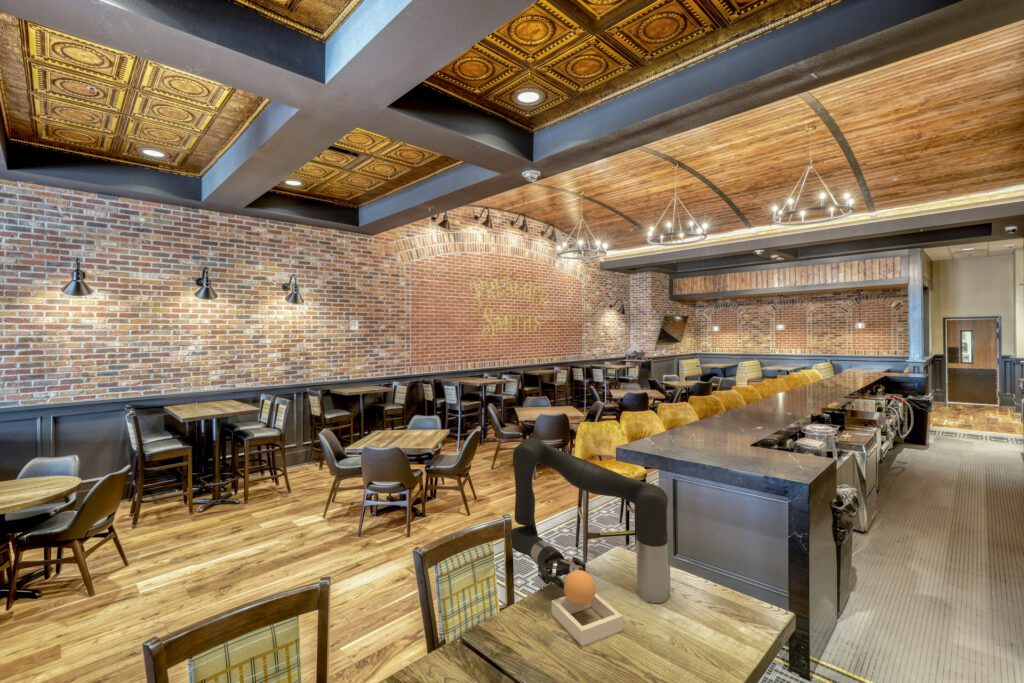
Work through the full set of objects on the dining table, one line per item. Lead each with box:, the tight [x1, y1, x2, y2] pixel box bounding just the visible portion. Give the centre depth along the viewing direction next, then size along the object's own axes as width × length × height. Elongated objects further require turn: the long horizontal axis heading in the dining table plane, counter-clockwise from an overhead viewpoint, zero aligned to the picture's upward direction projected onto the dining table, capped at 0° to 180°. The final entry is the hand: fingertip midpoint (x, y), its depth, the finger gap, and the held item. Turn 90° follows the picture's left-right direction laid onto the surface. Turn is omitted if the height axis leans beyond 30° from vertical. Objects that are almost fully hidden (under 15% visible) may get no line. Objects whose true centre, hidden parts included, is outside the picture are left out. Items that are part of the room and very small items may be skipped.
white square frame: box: [551, 592, 624, 647], centre depth 127 cm, size 14×15×4 cm
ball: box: [563, 569, 597, 606], centre depth 129 cm, size 9×9×9 cm
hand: (575, 582), depth 131 cm, fingers open, 8 cm apart
